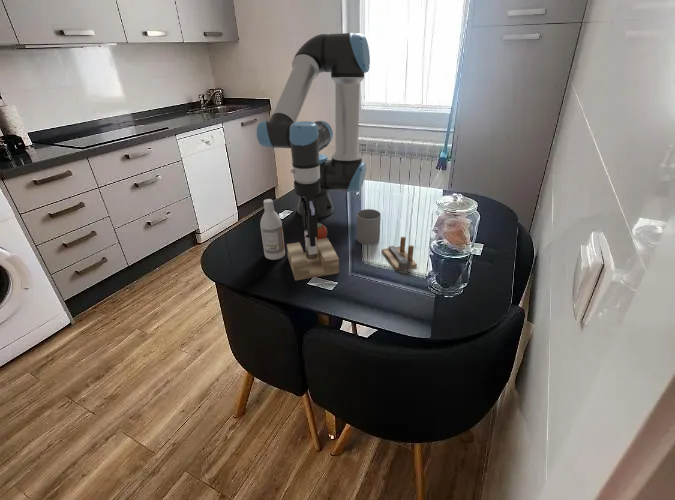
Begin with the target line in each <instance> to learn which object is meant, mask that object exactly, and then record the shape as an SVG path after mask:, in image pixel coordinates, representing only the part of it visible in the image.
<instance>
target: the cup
mask: <svg viewBox="0 0 675 500" xmlns="http://www.w3.org/2000/svg"><path fill="white" fill-rule="evenodd" d="M381 217H382V214H381V211H378V210H377V209H371V208H367V209H366V208H365V209H361V210H359V211H357V213H356V241H357V242H358V243H360V244H361V245H366V246H371V245H377V243H379V242H380V239H381V237H380V236H381Z"/></svg>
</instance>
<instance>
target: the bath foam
mask: <svg viewBox="0 0 675 500" xmlns="http://www.w3.org/2000/svg"><path fill="white" fill-rule="evenodd" d="M274 206H275V205H274V201H273V199H271V198H267V199H264V200H263V208H264V212H263V214H262V216H261V218H260V225H259V227H260V232H261V239H262V248H263V253H264V257H265V258H266V259H268V260H272V261H273V260H274V261H275V260H280V259H282V258H283V257H285V255H286V249H285V248H286V247H285V241H284V240H285V239H284V230H283V222H282V219H281V217H280V216H279V214H278V213H277V212H276V211H275V207H274Z"/></svg>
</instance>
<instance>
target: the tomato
mask: <svg viewBox="0 0 675 500" xmlns="http://www.w3.org/2000/svg"><path fill="white" fill-rule="evenodd" d="M317 228H318V237H316V239H324V238H327V236H328V228H327V227H326V226H325V225H324V224H322V223H321V222H318V221H317Z"/></svg>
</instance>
